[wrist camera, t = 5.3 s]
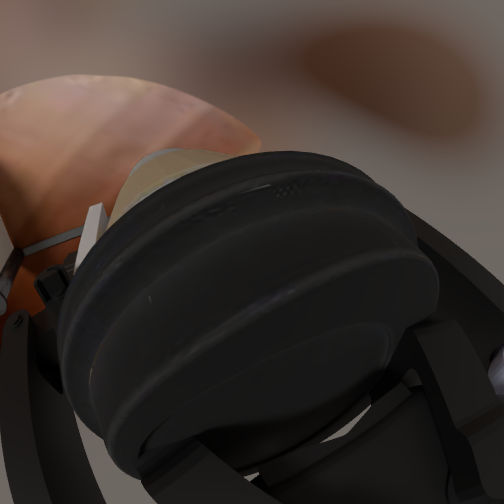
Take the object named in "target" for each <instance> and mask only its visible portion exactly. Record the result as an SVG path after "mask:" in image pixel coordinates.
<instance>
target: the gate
mask: <svg viewBox="0 0 504 504" xmlns="http://www.w3.org/2000/svg"><path fill="white" fill-rule="evenodd" d="M13 248H14V247H13V245H12V243H11V241H10V238H9V236H8V234H7V231H6V229H5V226H4V224H3V221H2V219H1V216H0V272H1V270H2V268H3V266H4V265H5V263H6V261H7V259H8V257H9V255H10V254H11V252H12V250H13Z"/></svg>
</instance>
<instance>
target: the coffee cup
mask: <svg viewBox="0 0 504 504" xmlns="http://www.w3.org/2000/svg"><path fill="white" fill-rule="evenodd" d="M438 296H439V277H438V273H437V270H436V268H435V267H434V265H433V263H432V262H431V260H430V259H429V258H428V257H427V256H426V255H425V254H424V253H423V252H422V251H421V250H420V249H419V248H418V243H417V236H416V232H415V229H414V226H413V223H412V221H411V219H410V217H409V215H408V213H407V212H406V210H405V208H404V207H403V206H402V204H401V203H400V202H399V201H398V200H397V199H396V197H395V196H394V195H392V194H391V193H390V192H389V191H388V190H386V189H385V188H383V187H382V186H380V185H378V184H377V183H375V182H374V181H373V180H372V179H371V178H370V177H369V176H368V175H366V174H365V173H363V172H362V171H361V170H359V169H357V168H356V167H354V166H352V165H350V164H348V163H346V162H343V161H340V160H338V159H335V158H333V157H329V156H325V155H320V154H316V153H309V152H298V151H277V152H276V151H275V152H263V153H256V154H249V155H243V156H233V155H228V154H223V153H218V152H213V151H208V150H202V149H180V148H169V149H164V150H159V151H156V152H154V153H151V154H149V155H147V156H146V157H144V158H143V159H141V160H140V161H139V162H138V163H137V164H136V165H135V167H134V168H133V170H132V171H131V173H130V175H129V178H128V179H127V181H126V182H125V184H124V185H123V187H122V189H121V190H120V193H119V195H118V198H117V201H116V203H115V206H114V209H113V212H112V214H111V217H110V220H109V223H108V226H107V229H106V232H105V233H104V234H103V235H102V236H101V237H100V239H99V240H98V241H97V242H96V243H95V244H94V245H93V247H92V248H91V249H90V251H89V252H88V253H87V255H86V256H85V258H84V259H83V261H82V262H81V264H80V265H79V267H78V268H77V270H76V272H75V274H74V276H73V278H72V280H71V282H70V284H69V286H68V288H67V291H66V294H65V296H64V299H63V302H62V306H61V309H60V314H59V319H58V325H57V350H58V358H59V362H60V366H61V369H62V378H63V384H64V389H65V392H66V395H67V398H68V400H69V402H70V404H71V406H72V408H73V410H74V411H75V413H76V414H77V415H78V417H79V418H80V420H81V421H82V422H83V423H84V424H85V425H86V426H87V427H88V428H89V429H90V430H91V431H92V432H94V433H95V434H96V435H97V436H99V437H100V438H102V439H103V440H104V443H105V446H106V448H107V451H108V453H109V455H110V457H111V459H112V460H113V462H114V463H115V464H116V465H117V466H118V468H119V469H120V470H122V471H123V472H125V473H126V474H128V475H130V476H131V477H133V478H136V479H139V480H141V476H140V474H139V473H138V471H137V470H136V469H135V468H134V466H133V465H132V464H131V463H130V462H131V461H135V460H138V459H139V453H140V452H141V451H144V450H148V449H152V448H156V447H160V446H164V445H167V444H171V443H174V442H177V441H180V440H183V439H186V438H188V437H191V436H193V437H194V438H196V439H197V440H198V441H200V442H201V443H202V444H203V445H204V446H205V447H207V448H208V449H209V450H210V451H211V452H213V453H214V454H215V455H216V456H217V457H218V458H220V459H221V460H222V461H223V462H225V463H226V464H227V465H228V466H230V467H231V468H232V469H233V470H235V471H236V472H237V473H239V474H240V475H241V476H243V477H244V476H248V475H251V474H254V473H257V472H258V469H257V468H259V467H262V466H264V465H266V464H269V463H271V462H273V461H275V460H278V459H280V458H282V457H284V456H286V455H288V454H290V453H292V452H294V451H296V450H298V449H301V448H305V447H308V446H312V445H316V444H319V443H320V442H322V441H323V440H325V439H327V438H328V437H330V436H331V435H333V434H334V433H336V432H337V431H338V430H340V429H341V428H343V427H344V426H345V425H346V424H348V423H349V422H350V421H352V420H353V419H354V418H355V417H357V416H358V415H359V414H360V413H361V412H362V411H364V410H365V409H366V408H367V407H368V406H369V405H370V404H371V393H372V391H371V390H372V389H373V388H374V386H375V385H376V384H377V382H378V381H379V380H380V378H381V377H382V375H383V373H384V371H385V369H386V368H387V366H388V364H389V362H390V360H391V357H392V355H393V353H394V352H395V350H396V347H397V345H398V343H399V342H400V340H401V338H402V335H403V333H404V331H405V329H407V328H412V327H414V326H416V325H418V324H419V323H421V322H422V321H423V320H425V319H426V318H427V317H428V316H429V315H430V314H432V313H433V312H435V309H436V306H437V301H438Z"/></svg>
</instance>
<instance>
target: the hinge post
mask: <svg viewBox="0 0 504 504" xmlns="http://www.w3.org/2000/svg"><path fill="white" fill-rule="evenodd" d="M23 260H24V253H23V251H22V250H21V249H20V248H18V247H14V248H13V250H12V252H11V254H10V255H9V257H8V259H7V261H6V263H5V265H4V266H3V268H2V270H1V272H0V315H3V314H4V313H5V311H6V309H7V300H6V299H7V297H8V294H9V292H10V289H11V287H12V284H13V282H14V280H15V277H16V275H17V273H18V270H19V268H20V266H21V264H22V262H23Z"/></svg>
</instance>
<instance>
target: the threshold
mask: <svg viewBox="0 0 504 504" xmlns="http://www.w3.org/2000/svg"><path fill="white" fill-rule="evenodd" d="M110 217H111V216H109V217H107V219H108V222H109V220H110ZM83 229H84V225H83V226H80V227H78V228H75V229H72V230H69V231H67V232H64V233H61V234H59V235H56V236H54V237H51V238H49V239H46V240H43V241H41V242H39V243H36V244H34V245H31V246H29V247H26V248H24V249H23V251H24V253H25V256H27V255H30V254H32V253H35V252H37V251H40V250H42V249H45V248H47V247H50V246H52V245H55V244H58V243H60V242H63V241H66V240H68V239H71V238H74V237H76V236H79V235H82V233H83Z"/></svg>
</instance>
